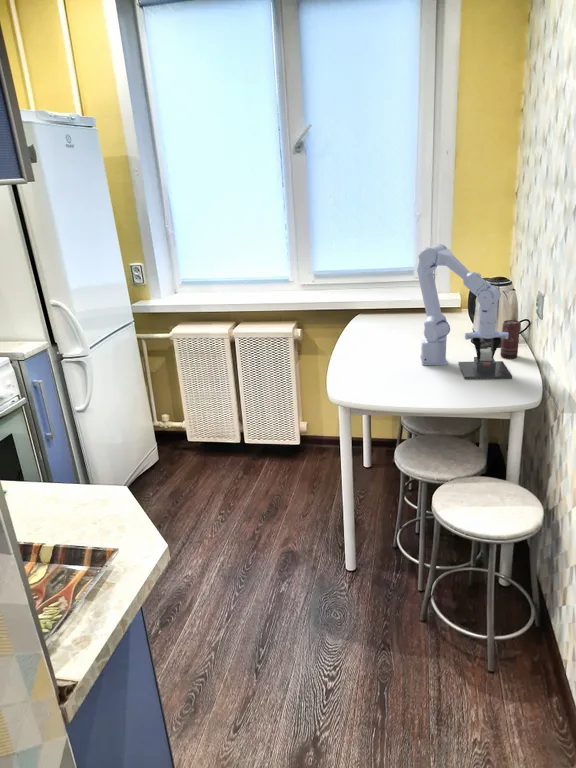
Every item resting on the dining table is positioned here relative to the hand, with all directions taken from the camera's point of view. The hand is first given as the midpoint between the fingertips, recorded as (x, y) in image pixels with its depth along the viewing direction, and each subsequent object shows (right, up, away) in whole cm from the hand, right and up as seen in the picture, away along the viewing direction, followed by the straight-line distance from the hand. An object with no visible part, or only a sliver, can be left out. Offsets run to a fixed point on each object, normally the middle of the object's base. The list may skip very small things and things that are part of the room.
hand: (484, 357), depth 203 cm
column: (0, -5, +2) cm, 5 cm away
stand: (0, -5, +2) cm, 5 cm away
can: (+14, +1, +15) cm, 21 cm away
